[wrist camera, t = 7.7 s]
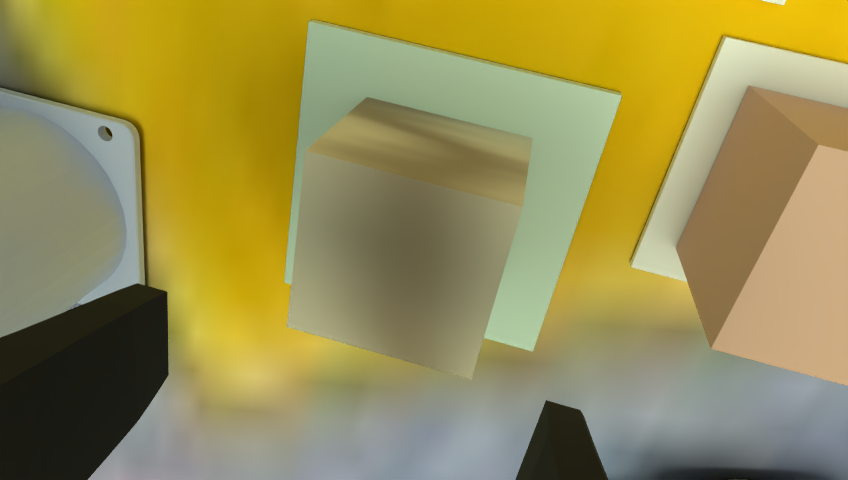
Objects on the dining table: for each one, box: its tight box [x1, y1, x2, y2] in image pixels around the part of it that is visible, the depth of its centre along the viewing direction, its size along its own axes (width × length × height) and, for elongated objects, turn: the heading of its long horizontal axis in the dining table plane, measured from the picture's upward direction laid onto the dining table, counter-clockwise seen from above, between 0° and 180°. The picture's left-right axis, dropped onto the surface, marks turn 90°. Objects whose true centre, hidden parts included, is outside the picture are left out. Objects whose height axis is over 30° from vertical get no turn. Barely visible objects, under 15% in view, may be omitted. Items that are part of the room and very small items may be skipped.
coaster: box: [284, 20, 622, 351], centre depth 19 cm, size 9×9×1 cm
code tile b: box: [630, 36, 848, 282], centre depth 17 cm, size 7×7×1 cm
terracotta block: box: [676, 86, 848, 386], centre depth 15 cm, size 5×5×5 cm
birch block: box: [287, 97, 532, 379], centre depth 17 cm, size 5×5×5 cm
